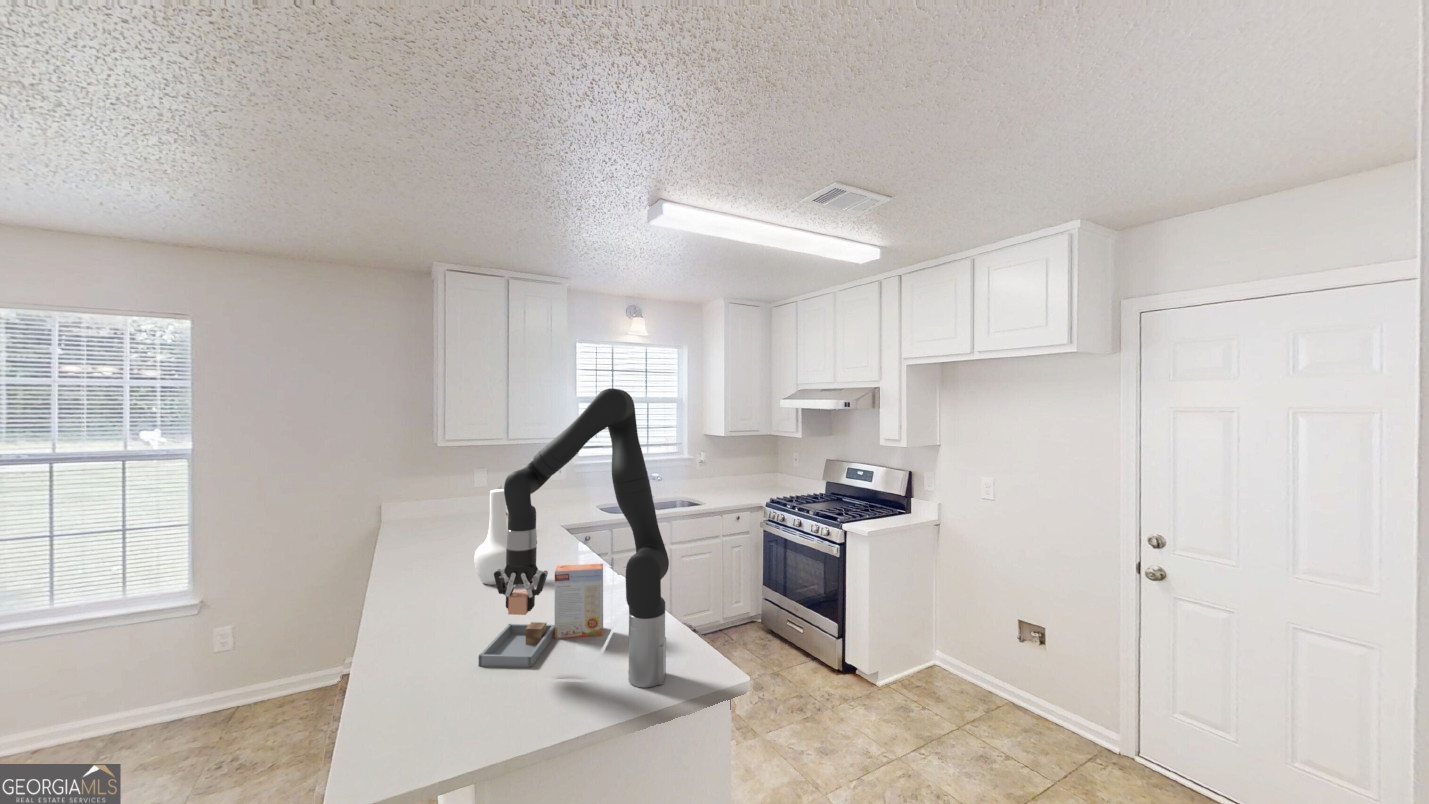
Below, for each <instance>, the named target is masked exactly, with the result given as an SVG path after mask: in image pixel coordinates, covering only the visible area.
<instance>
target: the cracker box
mask: <svg viewBox="0 0 1429 804" xmlns="http://www.w3.org/2000/svg"><path fill="white" fill-rule="evenodd" d="M554 625H555V635H554V639H571V638H573V639H574V638H586V637H587V638H588V637H589V638H591V637H601V636H602V637H603V634H604V564H603V563H585V564H567V565H566V564H565V565H556V568H555V571H554Z"/></svg>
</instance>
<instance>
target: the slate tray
mask: <svg viewBox="0 0 1429 804" xmlns="http://www.w3.org/2000/svg"><path fill="white" fill-rule="evenodd" d="M529 624H530V623H529ZM529 624H528V623H523V624H522V623H508V624H507V626H506V627H505V628H504V629H503V630H502V631H501V632H500V633H499V634H498V635H497V636H496V637H495V638H494V639H493V640H492V641H491V642H490V643H489V644H488V645H487V646H486V647H485V648H484V649H483V650H482V651H481V653H480V654H479V655H478V667H494V668H495V667H500V668H501V667H502V668H505V667H507V668H532V667H533V665H534V664H535V663H536V661H537V660H538V659H539V657H540V656H541V655H542V653H543V652H544V650H545V649H546V647H547V646H548V645H549V643H550V642H551V640H552V639H553V638H554V637H555V624H546V634H545V635H544V637H543V638H542V639H541V641H540V642H539V643H538V645H529V644H526V628H527V627H528V626H529Z"/></svg>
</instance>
